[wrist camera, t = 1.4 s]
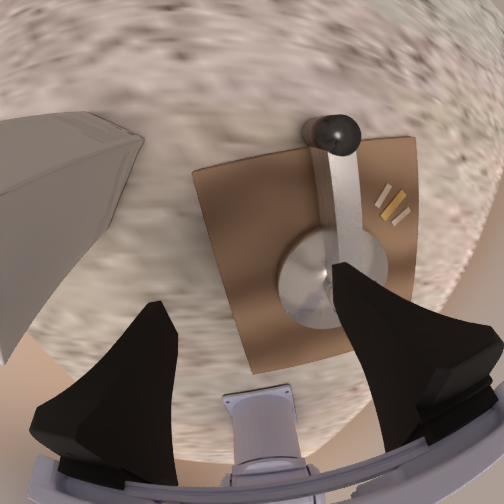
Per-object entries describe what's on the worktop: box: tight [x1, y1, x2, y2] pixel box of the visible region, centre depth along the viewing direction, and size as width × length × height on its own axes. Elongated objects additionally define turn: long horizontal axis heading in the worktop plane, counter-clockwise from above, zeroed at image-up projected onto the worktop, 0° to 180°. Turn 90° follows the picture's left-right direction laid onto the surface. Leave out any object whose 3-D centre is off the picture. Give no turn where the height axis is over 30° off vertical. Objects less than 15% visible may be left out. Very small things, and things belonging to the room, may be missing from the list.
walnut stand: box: [192, 136, 419, 375], centre depth 22 cm, size 20×17×1 cm
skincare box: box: [0, 111, 144, 366], centre depth 11 cm, size 8×6×15 cm
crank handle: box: [277, 114, 388, 329], centre depth 18 cm, size 17×9×5 cm, turn 12°
